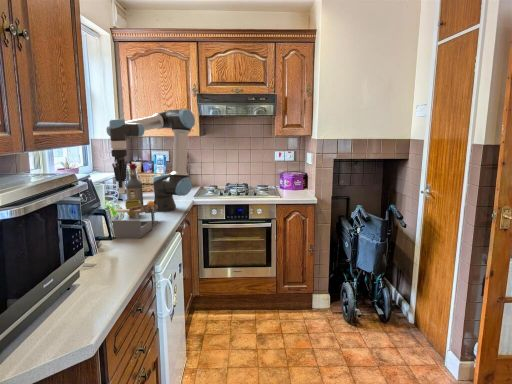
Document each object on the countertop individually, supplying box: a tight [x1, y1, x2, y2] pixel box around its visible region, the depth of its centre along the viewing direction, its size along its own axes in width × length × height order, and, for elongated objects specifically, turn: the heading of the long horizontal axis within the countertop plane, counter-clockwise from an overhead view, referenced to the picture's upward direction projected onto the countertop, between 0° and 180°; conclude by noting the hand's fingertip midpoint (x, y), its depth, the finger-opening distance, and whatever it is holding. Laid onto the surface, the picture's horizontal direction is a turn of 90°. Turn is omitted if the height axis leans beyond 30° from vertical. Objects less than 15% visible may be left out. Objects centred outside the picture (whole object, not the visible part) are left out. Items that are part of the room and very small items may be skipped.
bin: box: [111, 219, 153, 239], centre depth 184 cm, size 15×15×9 cm
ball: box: [146, 200, 154, 206], centre depth 209 cm, size 4×4×4 cm
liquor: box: [125, 163, 144, 206], centre depth 240 cm, size 9×9×30 cm
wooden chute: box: [115, 204, 158, 214], centre depth 200 cm, size 24×16×5 cm, turn 175°
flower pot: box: [124, 200, 140, 218], centre depth 221 cm, size 9×9×9 cm
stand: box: [135, 208, 159, 228], centre depth 201 cm, size 8×12×10 cm, turn 86°
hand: (122, 193), depth 193 cm, fingers closed
